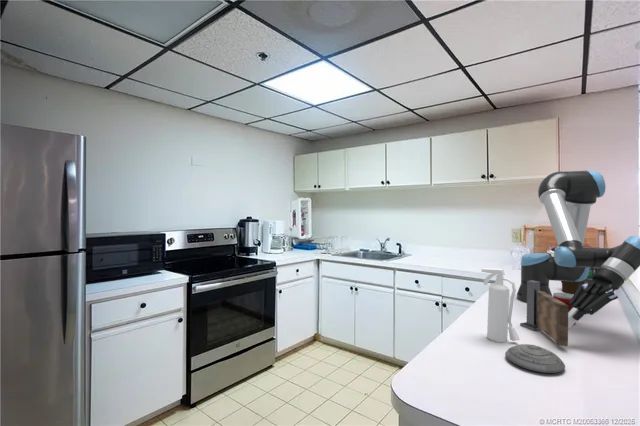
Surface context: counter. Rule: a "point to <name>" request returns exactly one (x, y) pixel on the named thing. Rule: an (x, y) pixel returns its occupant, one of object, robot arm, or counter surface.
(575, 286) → the olive oil
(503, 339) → the fire extinguisher
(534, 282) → the gate post
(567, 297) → the canned food
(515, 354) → the flying saucer
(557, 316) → the gate
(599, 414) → the counter surface
